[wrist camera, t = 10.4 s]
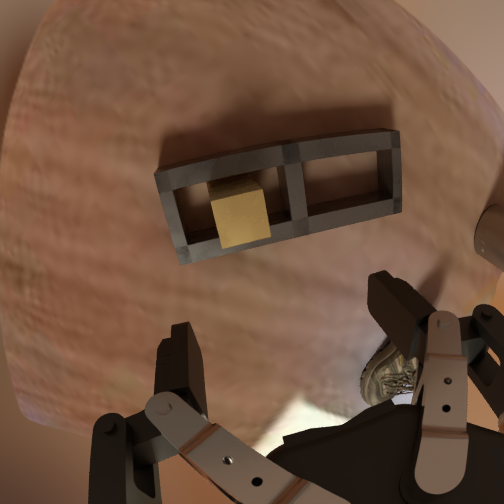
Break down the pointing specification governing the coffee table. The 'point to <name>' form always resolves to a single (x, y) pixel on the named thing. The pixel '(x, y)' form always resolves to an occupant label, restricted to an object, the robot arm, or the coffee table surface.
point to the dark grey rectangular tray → (285, 188)
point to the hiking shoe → (387, 376)
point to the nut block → (238, 210)
